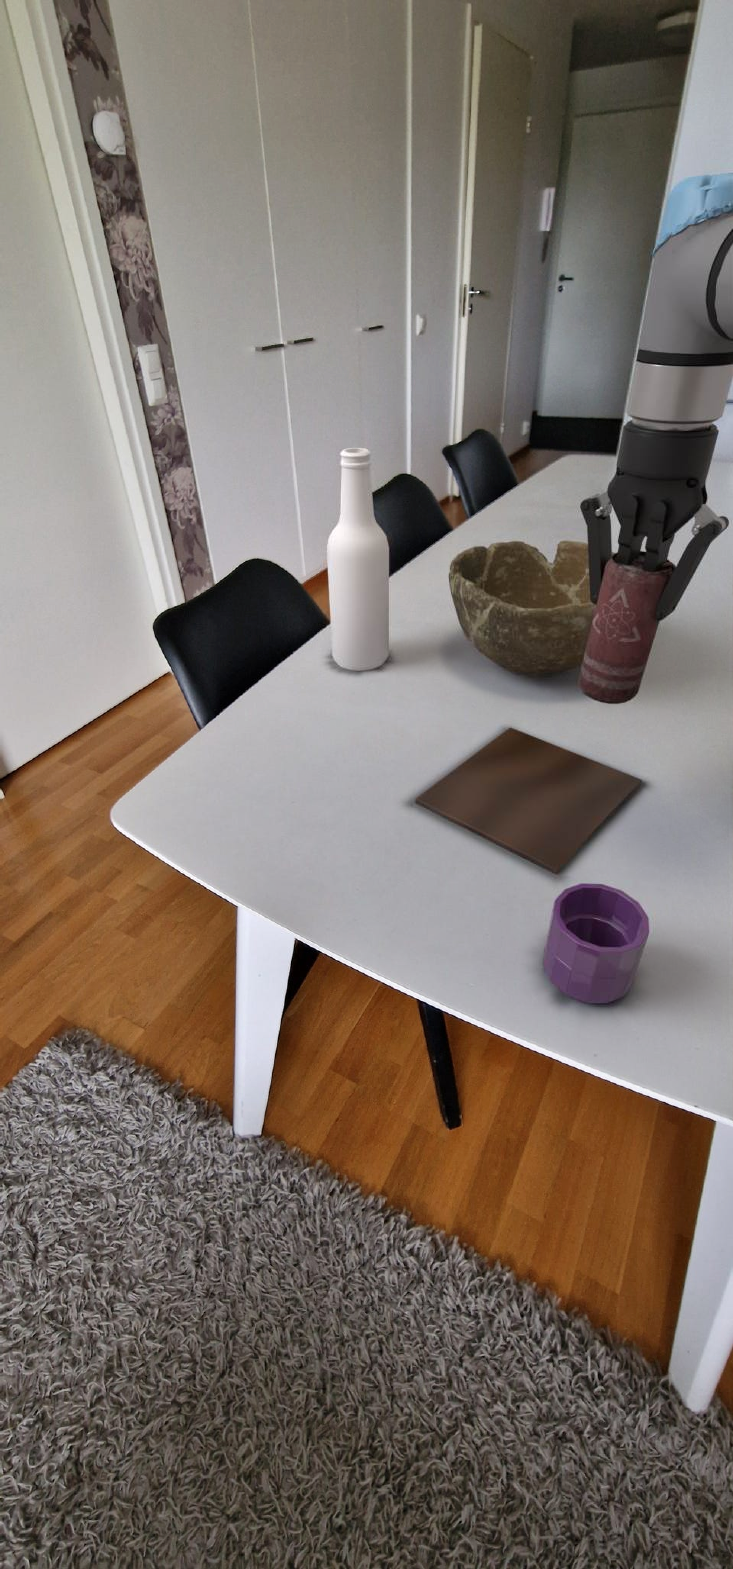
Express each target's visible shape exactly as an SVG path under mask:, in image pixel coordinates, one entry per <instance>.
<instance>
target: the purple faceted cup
mask: <svg viewBox="0 0 733 1569" xmlns="http://www.w3.org/2000/svg"><path fill="white" fill-rule="evenodd" d="M649 918H650V917H649V916H648V914H647V913H646V911H645V910H644V909H643V906H642V905H641V903H640V902H639V901H637V900H636V899H634V898H633V897H632V896H630V895H629V894H628V893H626V892H625V891H623V890H622V889H618V888H615V887H613V886H609V885H606V884H603V883H579V884H576V885H573V886H570V887H567V888H565V889H563V890H562V892H561V893H560V894H559V895H558V896H557V897H556V898H555V900H554V901H553V907H552V911H551V916H550V922H549V927H548V931H547V935H546V936H547V937H546V941H545V947H544V952H543V959H542V960H543V962H542V966H543V968H544V970H545V972H546V974H547V976H548V979H549V981H550V982H551V983H552V984H553V985H554V986H555V987H557V989H559V991H561V992H563V994H565V995H566V996H568V997H572V998H573V999H576V1000H578V1001H581V1002H584V1003H587V1004H607V1003H610V1002H613V1001H615V1000H618V999H620V998H622V997H624V996H625V995H626V994H627V992H628V991H629V989H630V988H631V986H632V985H633V983H634V980H635V978H636V974H637V971H638V968H639V964H640V962H641V959H642V956H643V953H644V950H645V947H646V944H647V942H648V938H649V934H650V919H649Z"/></svg>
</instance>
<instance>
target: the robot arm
mask: <svg viewBox="0 0 733 1569" xmlns="http://www.w3.org/2000/svg"><path fill="white" fill-rule="evenodd" d="M652 258H653V260H652V266H651V272H650V278H649V284H648V288H647V290H648V291H647V295H646V301H645V307H644V312H643V317H642V322H641V323H642V324H641V330H640V334H639V341H638V347H637V353H636V359H635V364H634V369H633V373H632V378H631V384H630V389H629V393H628V399H627V404H626V409H625V412H626V415H628V417H630V418H631V420H628V421H627V422H626V424H624V425H623V427H622V431H621V437H620V443H619V448H618V453H617V459H616V467H615V468H616V469H615V473H614V476H613V478H612V479H611V480H610V481H609V483H608V485H607V489H606V491H603V492H601V493H596V494H594V495H591V496H590V497H588V498H585V499H583V500H582V501H581V503H580V506H579V508H580V511H581V513H582V517H583V520H584V522H585V526H586V534H587V544H588V560H589V584H590V600H591V602H592V603H593V604H595V605H597V601H598V596H599V592H600V588H601V584H602V579H603V575H604V570H605V566H606V564H607V562H608V561H609V560H610V559H611V558H612V552H613V546H612V545H613V542H612V520H611V513H612V511H614V514H615V516H616V519H617V521H618V523H619V525H620V526H619V532H618V537H617V544H618V548H617V551H616V553H617V557H616V563H619V564H623V565H626V566H628V565H630V564H632V563H630V562H633V561H634V560H635V559H639V555H640V551H642V546H643V542H644V539H645V538H646V540H645V546H644V549H645V552H646V554H645V559H644V564H643V568H642V570H644V571H647V572H658V571H660V570H661V569H662V568H664V567H663V564H664V563H665V562H667V559H668V558H669V552H670V548H671V546H672V544H673V543H674V540H675V537H676V534H677V533H678V532H679V531H680V530H681V529H682V528H683V527H684V526H685V525H686V524H687V523H689V522H690V521H691V520H692V519H693V518H694V523H693V525H692V527H691V534H692V535H693V537H692V538H691V540H690V541H689V542H688V544H687V545H686V547H685V548H684V551H683V552H682V555H681V556H680V558H679V560H678V562H677V564H676V565H675V566H676V568H675V570H674V572H673V574H672V576H671V578H670V579H669V581H668V583H667V585H666V587H665V589H664V591H663V593H662V595H661V597H660V599H659V601H658V603H657V605H656V608H655V611H654V615H653V619H654V620H655V621H660V622H661V621H664V620H665V619H666V618H667V617H669V615H671V614H672V613H673V612H674V611H675V610H676V608H677V607H678V605H679V603H680V601H681V599H682V597H683V595H684V594H685V591H686V590H687V588H688V587H689V585H690V583H691V581H692V579H693V577H694V575H695V573H696V571H697V569H698V567H699V566H700V564H701V562H702V560H703V558H704V556H706V555H705V554H706V553H707V551H708V549H709V547H710V545H712V542H713V541H715V540H716V539H717V538H718V537H719V536H720V535H721V534H722V533H723V532H724V531H725V530H726V529H727V528H728V527H729V524H730V521H729V518H728V517H726V516H725V515H720V516H718V515H717V514H716V513H715V512H714V511H713V509H711V508H710V506H709V505H708V504H707V503H708V498H709V497H708V492H707V487H706V484H707V478H708V474H709V471H710V468H711V463H712V460H713V457H714V452H715V448H716V443H717V440H718V437H719V432H720V431H719V429H718V427H717V425H715V423H714V422H716V421H718V420H720V419H721V418H722V417H723V415H724V412H725V407H726V405H727V400H728V397H729V393H730V389H731V386H732V382H733V172H725V173H724V172H723V173H718V174H712V175H710V174H703V175H695V176H694V175H693V176H690V177H686V178H684V179H682V180H680V181H679V182H677V183H676V184H675V185H674V186H673V187H672V189H671V190H670V192H669V194H668V196H667V199H666V203H665V207H664V212H663V216H662V220H661V224H660V229H659V233H658V237H657V240H656V243H655V247H654V248H653V251H652Z"/></svg>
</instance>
